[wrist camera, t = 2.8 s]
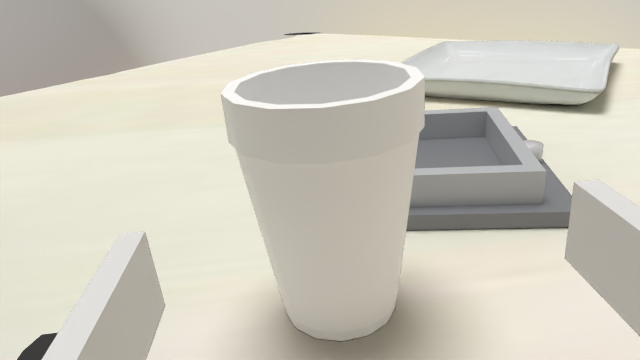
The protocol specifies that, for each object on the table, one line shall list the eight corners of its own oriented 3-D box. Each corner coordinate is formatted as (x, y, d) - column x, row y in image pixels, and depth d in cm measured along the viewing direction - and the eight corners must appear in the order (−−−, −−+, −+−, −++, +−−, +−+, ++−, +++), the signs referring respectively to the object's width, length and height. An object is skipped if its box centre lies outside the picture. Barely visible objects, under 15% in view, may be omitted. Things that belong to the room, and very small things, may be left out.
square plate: (376, 101, 68) (375, 73, 66) (443, 60, 88) (443, 38, 87) (599, 119, 54) (605, 84, 52) (616, 65, 74) (621, 39, 73)
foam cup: (307, 246, 34) (286, 58, 29) (440, 272, 30) (444, 59, 25) (227, 336, 27) (178, 103, 21) (390, 386, 23) (380, 115, 17)
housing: (294, 232, 36) (288, 187, 35) (320, 145, 52) (317, 112, 51) (581, 226, 34) (589, 177, 32) (515, 137, 50) (518, 102, 48)
